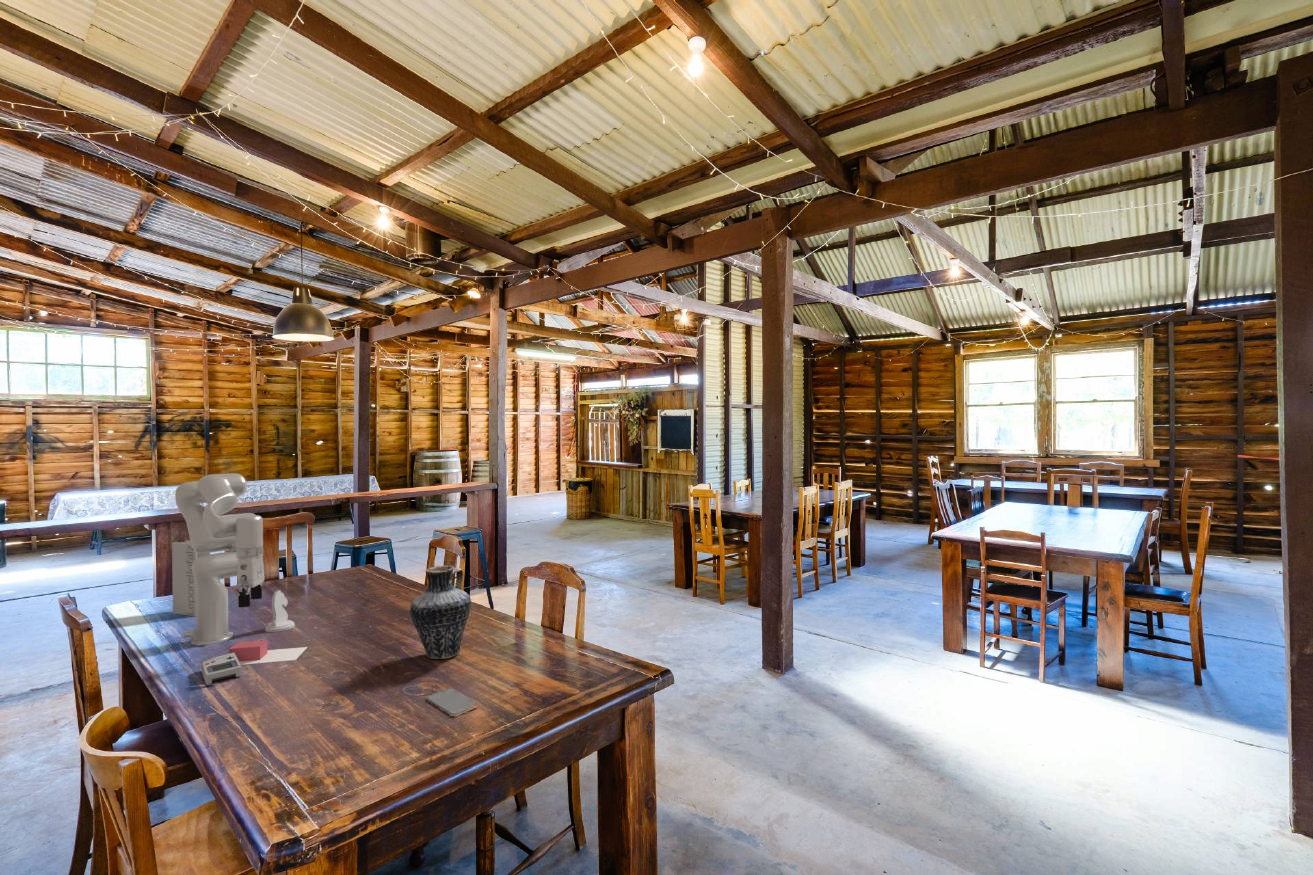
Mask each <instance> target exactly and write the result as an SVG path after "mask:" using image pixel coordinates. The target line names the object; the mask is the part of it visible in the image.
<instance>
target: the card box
mask: <svg viewBox="0 0 1313 875" xmlns="http://www.w3.org/2000/svg"><path fill="white" fill-rule="evenodd" d="M267 650H268V639H267V640H266V639H265V640H253V641H241V642H239V641H238V642H236V643H235V644H233V645H232V646H231V647H230V648H229V649H228V651H229V652H228V654H230V653H235V655H236V657H237V659H238V661H239V662H240V661H252V660H260V659H262V658H263V657H264V656H265V655H266V654H267Z"/></svg>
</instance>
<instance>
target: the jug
mask: <svg viewBox="0 0 1313 875" xmlns="http://www.w3.org/2000/svg"><path fill="white" fill-rule="evenodd" d="M425 574H426V578H427V582H428V584H427V589H426V590H425V591H424V592H423V593H422V594H420V595H418V596H417V597H415V599H413V601H412V603H411V604H410V608H409V610H410V611H409V613H410V617H411V621H412V623H413V625H414V628H415V630H416V632H417V634H418V637H419V639H420V642H421V644H422V647H423V649H424V651H425V654H426V657H428V658H429V659H433V660H441V659H443V660H444V659H449V658H452V657H455V656H457V655H459V653H460V652H461V644H462V640H463V636H464V632H465V628H466V624H467V621H468V619H469V617H470V611H471V608H472V607H471V606H472V599H471V596H470V595H469V594H468V593H467V592H466V591H464V590H462V586H463V579H464V570H462V568H459V567H454V566H452V565H445V564H444V565H437V566H433V567H427V568H426V570H425ZM455 574H456V575H455ZM454 575H455V576H456V578H455V583H454V584H455V586H454V584H453V576H454Z"/></svg>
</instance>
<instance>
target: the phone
mask: <svg viewBox="0 0 1313 875" xmlns="http://www.w3.org/2000/svg"><path fill="white" fill-rule="evenodd" d="M470 699H471V698H470V697H468V696H467V695H464V694H463V693H461V692H460V691H458V690H456V689H454V688H452V687H451V688H448V689H446V690H442V691H439V692H436V693H433V694H431V695H428V696H426V701H427V700H428V701H427V702H429V701H431V702H432V703H433V704H435V705H436V706H439V707H440V708H442V709H443V710H445V711H446V712H449V713H450V714H452V715H456V714H459V713H461V712H464V711H466V710H468V708H473V707H471V706H475V705H472V704H475V703H472V702H469V701H474V700H473V699H471V700H470ZM432 703H431V704H432ZM433 704H432V705H433ZM435 705H434V706H435ZM436 706H435V707H436ZM464 708H465V709H464Z"/></svg>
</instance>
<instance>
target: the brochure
mask: <svg viewBox="0 0 1313 875" xmlns="http://www.w3.org/2000/svg"><path fill="white" fill-rule="evenodd" d="M210 554H211V553H196V552H195V551H194V550H193V547H192V544H191V540H185V541H184V542H171V557H172V558H171V559H172V560H171V562H172V563H171V566H172V568H171V569H172V570H171V571H172V582H171V583H172V614H176V615H183V616H184V615H185V616H193V617H196V593H195V582H194V577H193V573H192V564H193V562H194V561H195V560H196V559H197V558H199V557H201V556H205V555H210Z"/></svg>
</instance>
